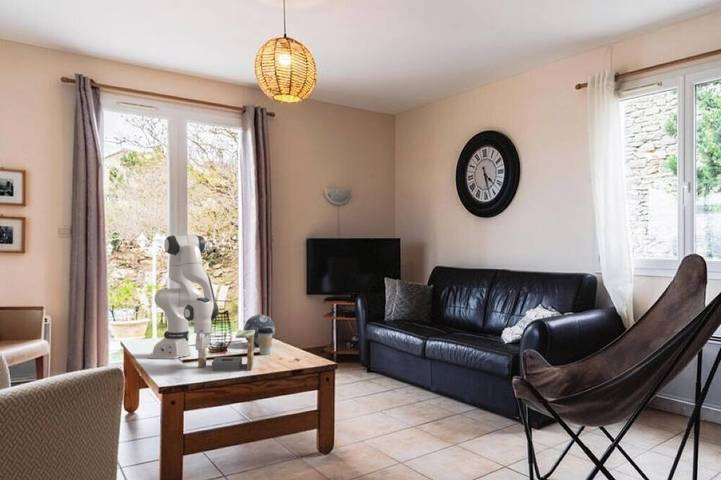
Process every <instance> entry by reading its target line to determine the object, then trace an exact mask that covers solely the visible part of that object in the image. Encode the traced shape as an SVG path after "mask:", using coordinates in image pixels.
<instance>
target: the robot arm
mask: <svg viewBox="0 0 721 480" xmlns="http://www.w3.org/2000/svg"><path fill="white" fill-rule="evenodd" d="M163 245H164V247H163V248H164V250H165V251H166V254H169V266H168V267H169V269H168V277H169V279H170V280H171V281H172V282H173V283H176V284H178V285H179V287H178V288H177V287H176V288H175V287H174V288H171V287H170V288H162V289H159V290H158V291H156V293H155V295H154V304H155V305H156V306H157V307H158V308H160V309H161V310H162V311H163V312H164V313H165V316H166V318H167V319H166V320H167V330H165V331H164V333H163V337H164V338H162V339H161V340H160V341H158V342H157V343H155V345H154V346H153V350H152V352H151V353H149V354H148V358H149V359H156V360H157V359H159V360H160V359H162V360H163V359H165V360H167V359H168V360H176V359H179V357H181V358H184V357H183V356H186V357H189V356H190V355H191V351H190V347H189V345H190V344H189V340H190V332H189V322H194V324H193V333H194V334H196V336H195V350H196V351H197V353H199V358H202V357H203V349H204V348H205V347H206V349H207V348H208V344H209V343H210V341H211V340H210V339H211V333H212V332H213V331H212V327H213V326H212V325H213V324H212V323H213V322H212V321H214V320H215V319H216V318H217V317H218V315H219V311H220V309H219V306H218V303H217V301H216V297H215V293H214V289H213V286H212V281H211V277H210V275H209V274H208V273H206V271H205V269H204V265H203V259H202V254H201V253H203V252H204V251H205V248H206V241H205V238H204V237H203V236H201V235H193V234H192V235H191V234H183V235H182V234H181V235H173V234H172V235H169V236H166V238H165V240H164V244H163ZM193 283H195V284H196V285H197V284H198V285H199V286H200V287H201V289H202V291H203V295H204V297H203V295H202V292H201V290H200V289H198V288H197V287H196V286H195V285H194V284H193ZM178 308H184V309H183V312H180V311H178ZM206 344H207V345H206ZM188 355H189V356H188Z"/></svg>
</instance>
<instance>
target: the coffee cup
mask: <svg viewBox="0 0 721 480" xmlns="http://www.w3.org/2000/svg"><path fill="white" fill-rule="evenodd" d="M257 333H258V342H259V346H258V350H259V355H260V356H268V355H270V354H271V348H272V341H273V339H272V333H273V330H272V328H260V329H259V331H258V332H257Z"/></svg>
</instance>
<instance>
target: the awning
mask: <svg viewBox="0 0 721 480" xmlns="http://www.w3.org/2000/svg"><path fill="white" fill-rule="evenodd" d="M254 333H255V330H244V329H240V330H238V332H237V333H236V335H235V338H236V339H246V338H248V341H247V349H246V350H247V355H246V359H247V360H246V361H247V362H246V365H247V366H246V371H252V369H253V365H254V358H255V357H254V355H255V354H254V352H255V351H254V350H255V349H254V347H255V345H254Z"/></svg>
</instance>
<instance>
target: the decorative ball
mask: <svg viewBox="0 0 721 480" xmlns="http://www.w3.org/2000/svg"><path fill="white" fill-rule="evenodd" d="M243 326H244V328H243V330H255V333H254V347H259V342H258V333H257V332H258V331H259V329H260V328H272V330H273V333H272V340H273V339H274V337H275V333H276V326H275V323H274V320H272V319H271V317H270V316H268V315H265V314H255V315H252V316H250V317H249V318H248V319H247V320H246V322H245V324H244V325H243ZM245 340H246V341H247V342H248V338H245Z"/></svg>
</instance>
